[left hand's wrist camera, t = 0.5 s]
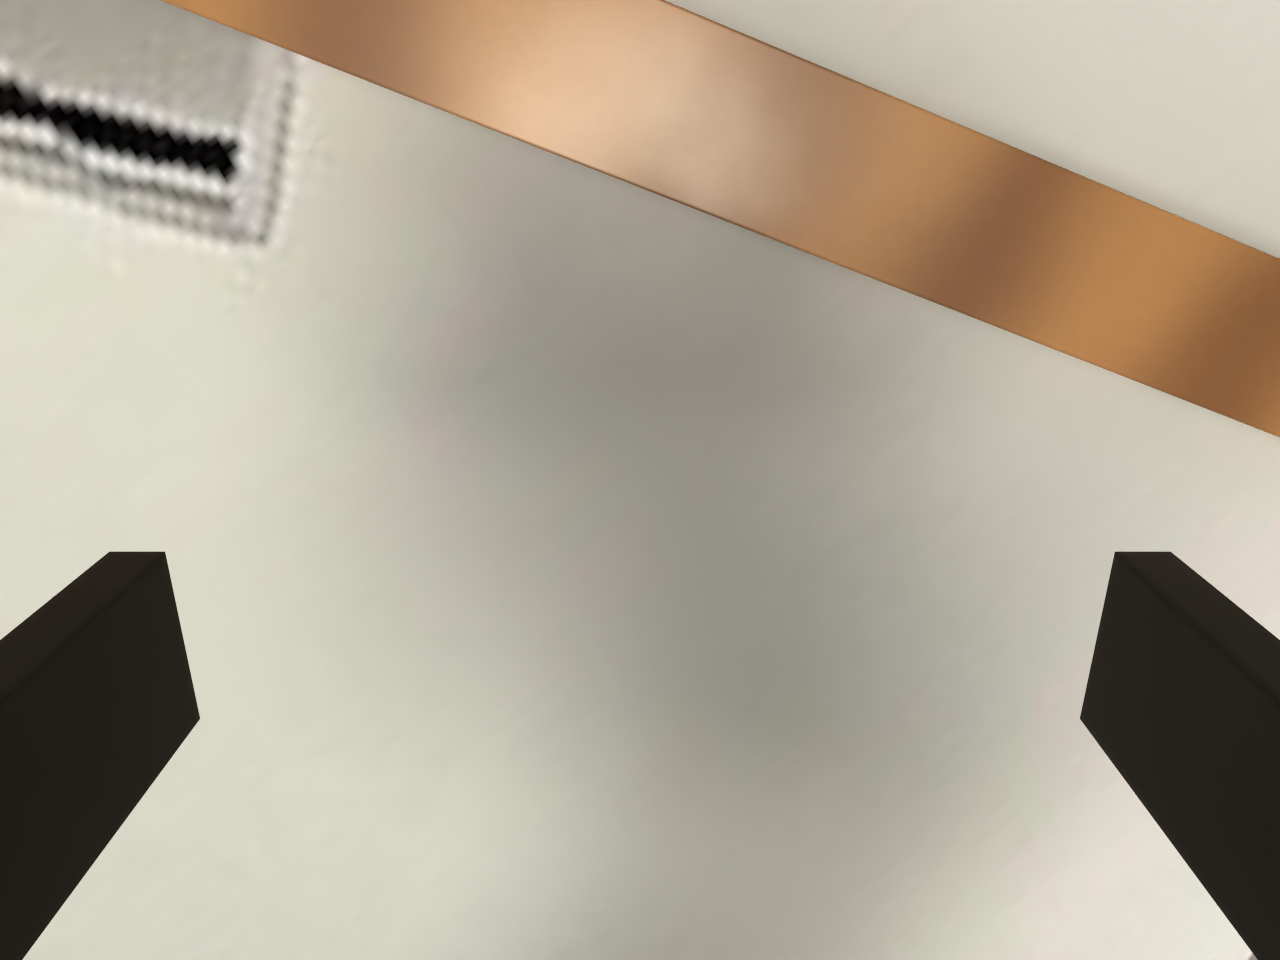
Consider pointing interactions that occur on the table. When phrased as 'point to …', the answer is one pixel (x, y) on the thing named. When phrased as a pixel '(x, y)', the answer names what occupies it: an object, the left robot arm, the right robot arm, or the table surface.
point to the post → (825, 174)
